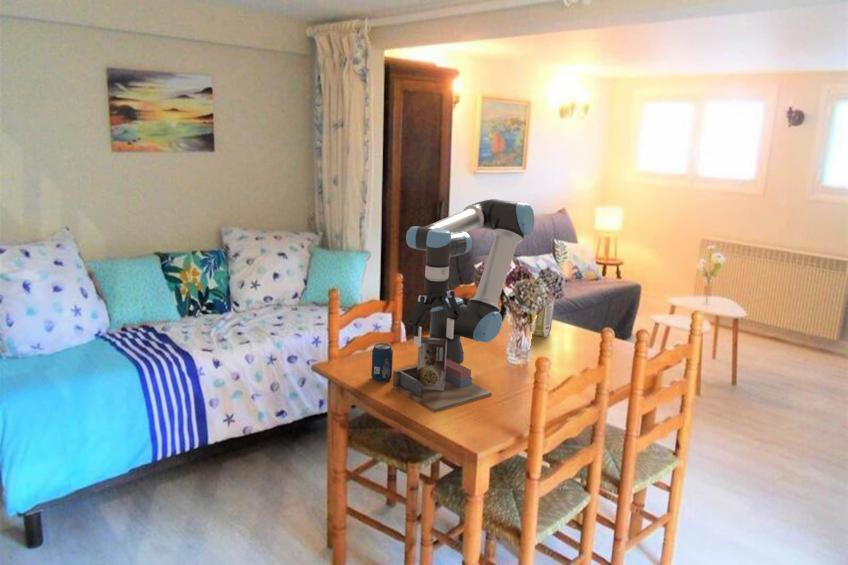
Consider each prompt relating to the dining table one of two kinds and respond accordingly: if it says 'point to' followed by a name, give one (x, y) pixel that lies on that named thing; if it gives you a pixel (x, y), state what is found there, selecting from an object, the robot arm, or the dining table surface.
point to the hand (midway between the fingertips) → (433, 341)
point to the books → (457, 374)
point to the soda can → (382, 362)
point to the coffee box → (432, 363)
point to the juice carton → (544, 321)
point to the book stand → (441, 392)
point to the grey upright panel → (410, 384)
